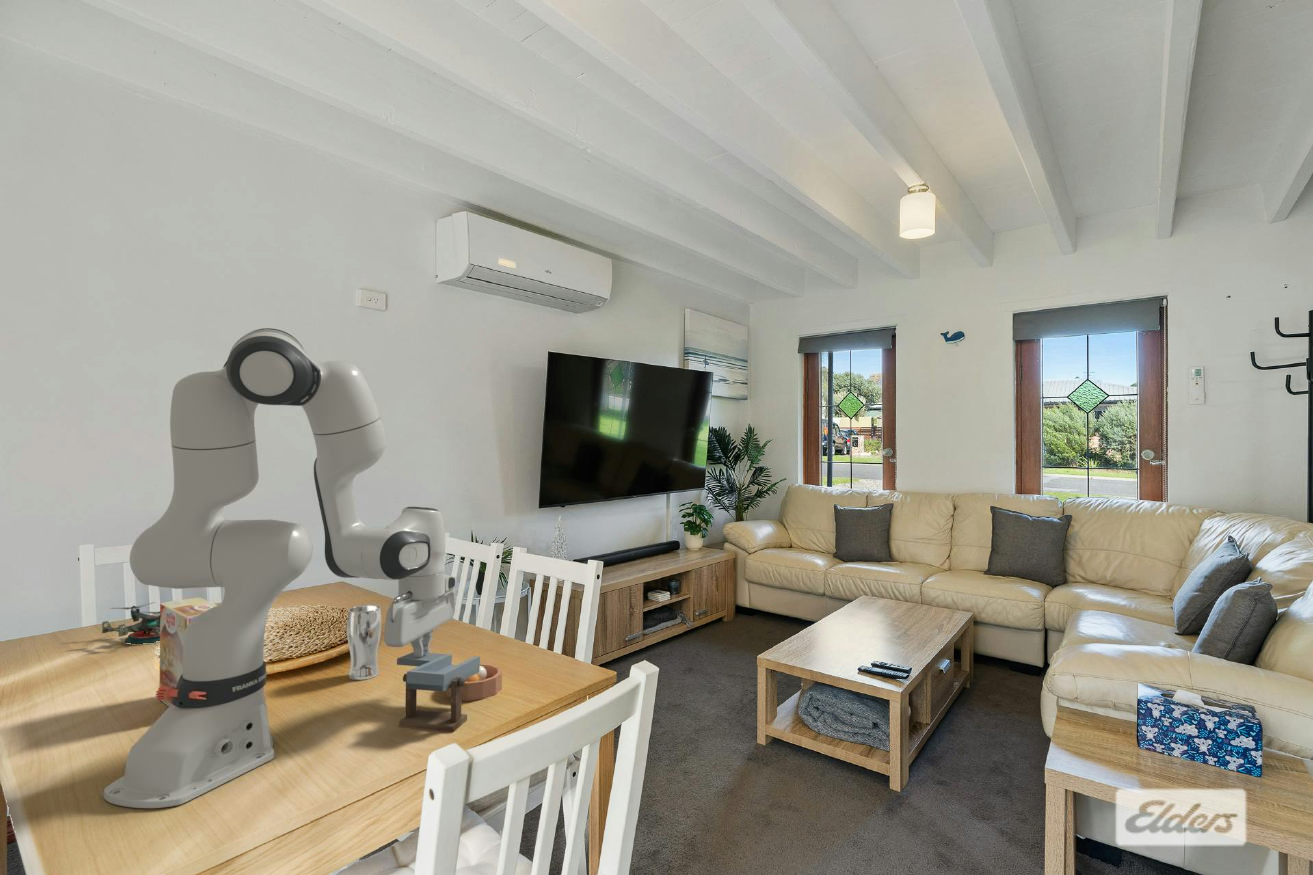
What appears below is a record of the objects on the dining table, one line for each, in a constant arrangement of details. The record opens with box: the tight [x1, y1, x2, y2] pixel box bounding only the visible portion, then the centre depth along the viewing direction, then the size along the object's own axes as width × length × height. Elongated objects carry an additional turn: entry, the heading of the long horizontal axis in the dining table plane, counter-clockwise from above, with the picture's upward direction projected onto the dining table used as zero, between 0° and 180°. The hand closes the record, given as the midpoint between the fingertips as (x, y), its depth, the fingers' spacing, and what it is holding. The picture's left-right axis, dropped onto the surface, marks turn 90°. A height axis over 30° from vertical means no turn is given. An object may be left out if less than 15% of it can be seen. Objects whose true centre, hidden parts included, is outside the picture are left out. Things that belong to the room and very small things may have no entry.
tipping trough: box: [396, 651, 481, 693], centre depth 119 cm, size 14×15×3 cm
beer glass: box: [346, 604, 382, 681], centre depth 138 cm, size 7×7×15 cm
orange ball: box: [465, 674, 479, 682], centre depth 128 cm, size 4×4×4 cm
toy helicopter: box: [101, 601, 160, 644], centre depth 161 cm, size 20×15×8 cm
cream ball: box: [476, 666, 487, 681], centre depth 132 cm, size 4×4×4 cm
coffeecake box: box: [158, 596, 217, 708], centre depth 123 cm, size 15×7×20 cm, turn 53°
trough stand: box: [398, 673, 468, 733], centre depth 115 cm, size 5×12×9 cm, turn 79°
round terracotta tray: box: [446, 662, 503, 702], centre depth 130 cm, size 11×11×4 cm
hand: (421, 654), depth 124 cm, fingers closed
